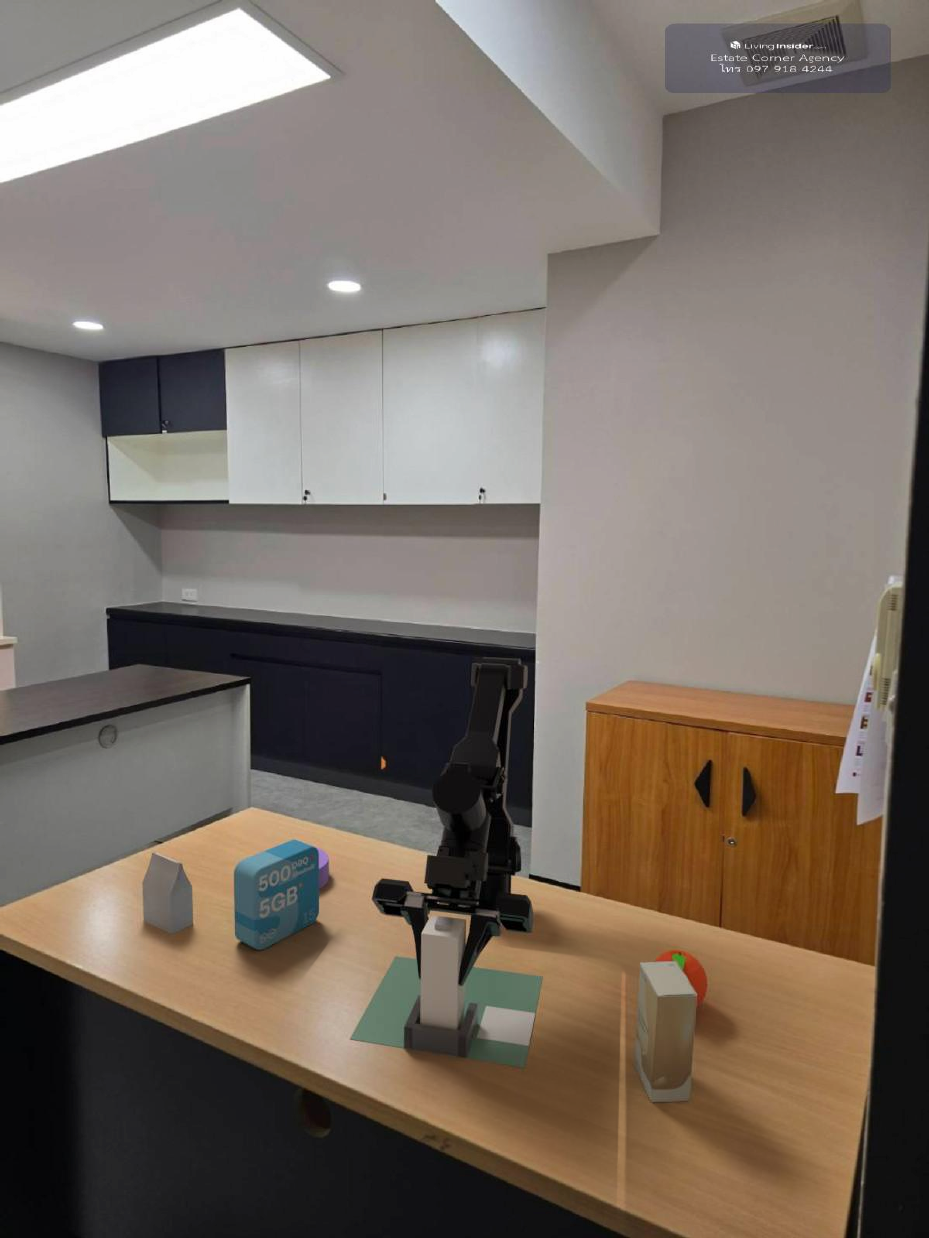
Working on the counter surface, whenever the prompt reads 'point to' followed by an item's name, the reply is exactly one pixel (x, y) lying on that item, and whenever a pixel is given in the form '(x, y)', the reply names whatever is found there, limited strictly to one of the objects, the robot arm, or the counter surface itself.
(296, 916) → the data package
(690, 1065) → the skincare box
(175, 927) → the grey milk carton
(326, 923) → the counter surface
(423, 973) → the white tall block
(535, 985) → the board
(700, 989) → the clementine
